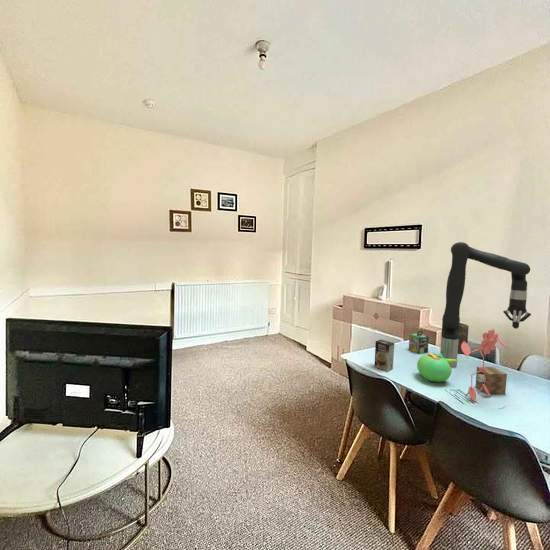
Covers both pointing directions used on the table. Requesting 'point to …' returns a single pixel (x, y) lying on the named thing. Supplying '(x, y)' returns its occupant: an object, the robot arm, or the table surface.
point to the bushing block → (493, 381)
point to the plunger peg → (481, 378)
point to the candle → (462, 336)
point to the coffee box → (384, 355)
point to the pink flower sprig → (487, 346)
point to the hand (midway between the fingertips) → (515, 328)
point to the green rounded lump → (435, 367)
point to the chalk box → (418, 343)
